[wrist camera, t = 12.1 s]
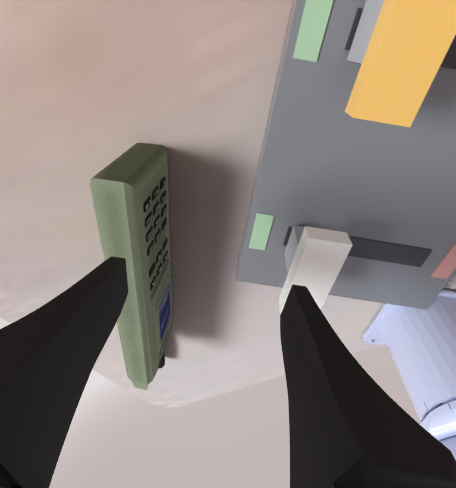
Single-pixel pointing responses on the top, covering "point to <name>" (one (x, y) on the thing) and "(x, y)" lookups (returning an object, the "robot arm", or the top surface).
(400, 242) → the switch panel
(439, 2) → the amber switch
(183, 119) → the top surface
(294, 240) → the white switch
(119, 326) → the handheld radio
